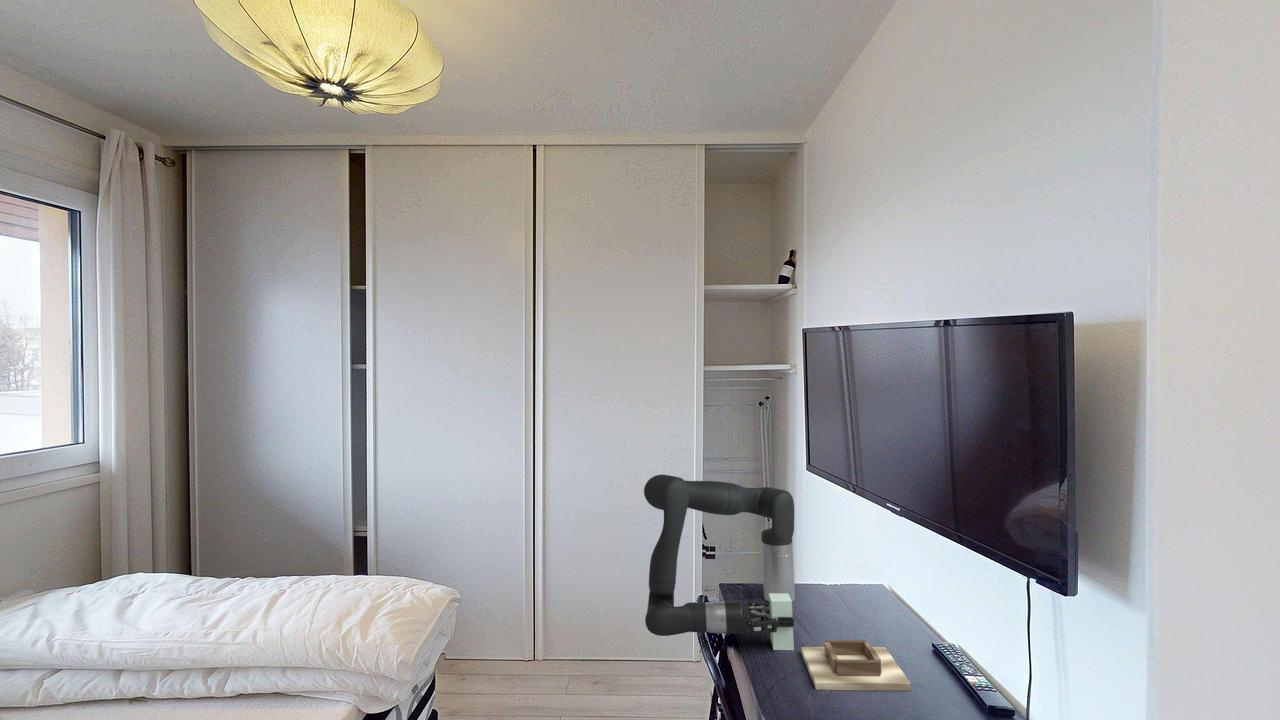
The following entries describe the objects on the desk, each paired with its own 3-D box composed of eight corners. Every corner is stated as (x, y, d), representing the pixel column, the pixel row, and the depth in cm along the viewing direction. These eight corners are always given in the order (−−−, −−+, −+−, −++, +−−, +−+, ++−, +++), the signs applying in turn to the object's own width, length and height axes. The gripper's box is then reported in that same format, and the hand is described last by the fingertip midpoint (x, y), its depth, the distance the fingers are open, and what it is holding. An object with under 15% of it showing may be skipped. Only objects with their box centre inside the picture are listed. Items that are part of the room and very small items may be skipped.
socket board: (801, 653, 138) (800, 634, 138) (885, 653, 136) (884, 634, 136) (815, 689, 122) (814, 668, 122) (911, 690, 120) (910, 669, 121)
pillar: (770, 640, 145) (768, 593, 145) (790, 640, 145) (788, 593, 145) (773, 649, 140) (771, 601, 140) (793, 650, 140) (791, 601, 140)
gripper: (725, 614, 137) (796, 614, 135) (721, 591, 151) (786, 591, 150) (726, 645, 137) (797, 645, 135) (722, 619, 151) (787, 619, 149)
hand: (791, 617), depth 142 cm, fingers closed on pillar, 5 cm apart
